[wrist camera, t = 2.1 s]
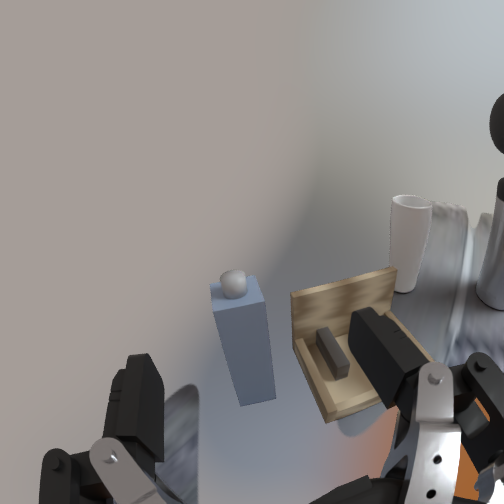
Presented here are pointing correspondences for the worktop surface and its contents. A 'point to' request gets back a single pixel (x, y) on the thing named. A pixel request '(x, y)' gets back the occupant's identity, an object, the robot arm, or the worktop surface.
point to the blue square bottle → (244, 335)
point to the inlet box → (339, 339)
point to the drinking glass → (408, 238)
